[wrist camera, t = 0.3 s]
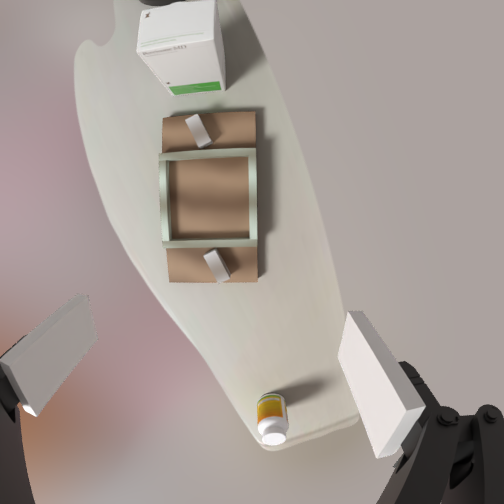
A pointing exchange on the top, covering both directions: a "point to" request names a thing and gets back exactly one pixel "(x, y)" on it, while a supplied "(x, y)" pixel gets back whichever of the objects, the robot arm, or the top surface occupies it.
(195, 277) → the board
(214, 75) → the skincare box
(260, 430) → the supplement bottle
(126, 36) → the top surface
